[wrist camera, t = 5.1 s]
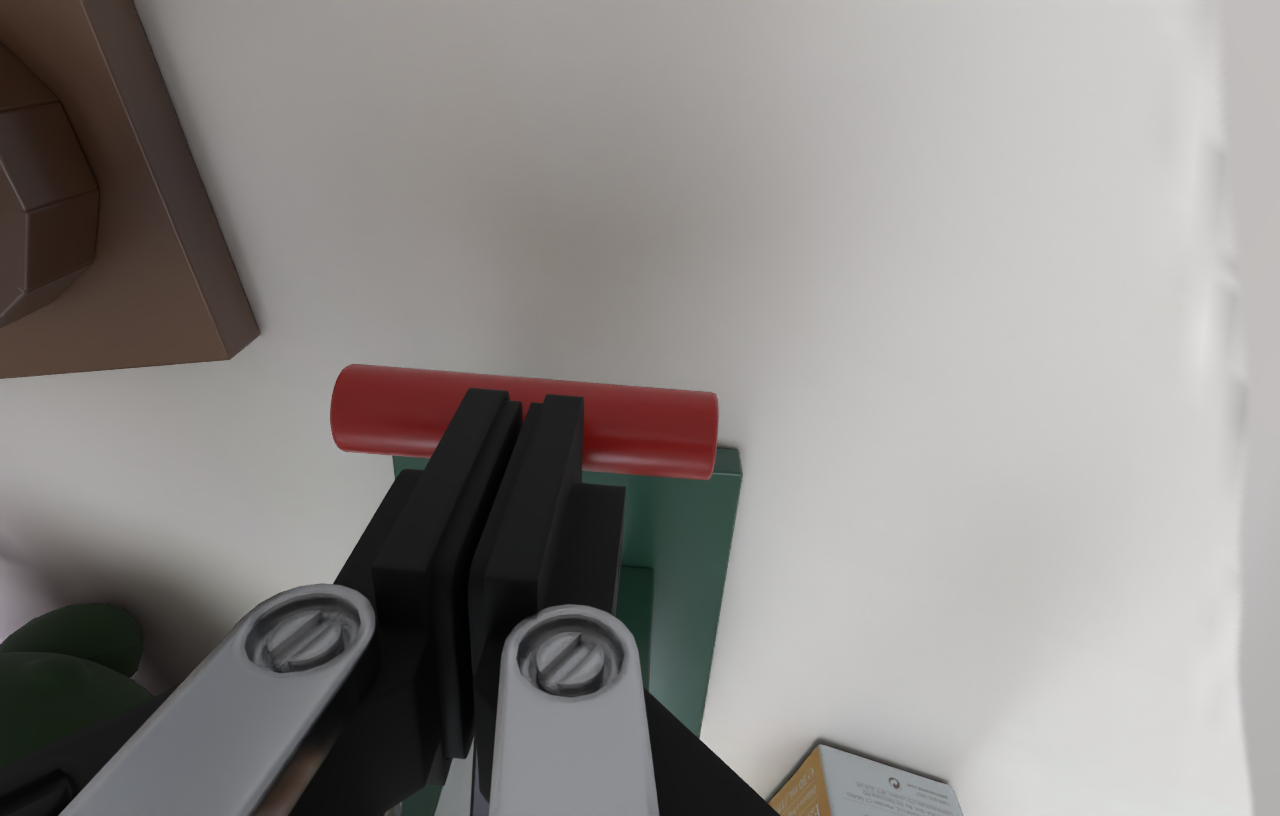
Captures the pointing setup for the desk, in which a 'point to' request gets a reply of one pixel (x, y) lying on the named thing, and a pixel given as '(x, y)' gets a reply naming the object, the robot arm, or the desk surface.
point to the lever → (613, 422)
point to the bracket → (649, 595)
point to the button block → (102, 204)
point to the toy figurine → (66, 675)
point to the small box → (860, 789)
